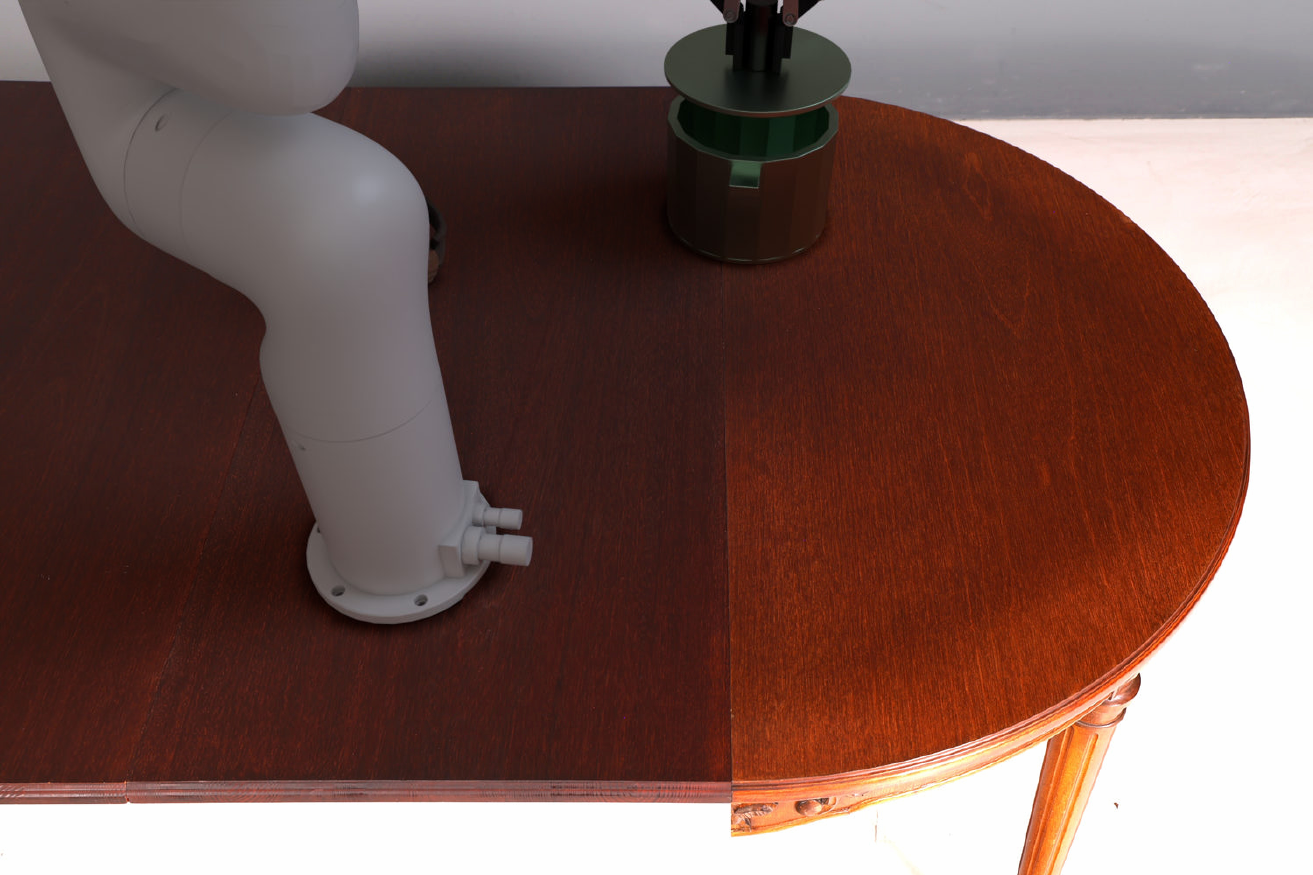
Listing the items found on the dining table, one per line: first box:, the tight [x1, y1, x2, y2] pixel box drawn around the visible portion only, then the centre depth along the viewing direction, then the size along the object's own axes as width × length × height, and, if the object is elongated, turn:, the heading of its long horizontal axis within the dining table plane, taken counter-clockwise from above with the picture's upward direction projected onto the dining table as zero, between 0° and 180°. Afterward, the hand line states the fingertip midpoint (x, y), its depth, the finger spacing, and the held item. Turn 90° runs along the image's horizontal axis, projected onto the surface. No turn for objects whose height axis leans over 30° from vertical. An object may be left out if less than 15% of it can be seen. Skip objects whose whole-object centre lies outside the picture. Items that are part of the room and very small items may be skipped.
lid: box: [663, 0, 853, 118], centre depth 85 cm, size 16×16×7 cm
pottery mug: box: [424, 195, 448, 285], centre depth 90 cm, size 12×10×8 cm
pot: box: [666, 94, 840, 266], centre depth 94 cm, size 15×20×10 cm
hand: (757, 62), depth 87 cm, fingers closed on lid, 2 cm apart
